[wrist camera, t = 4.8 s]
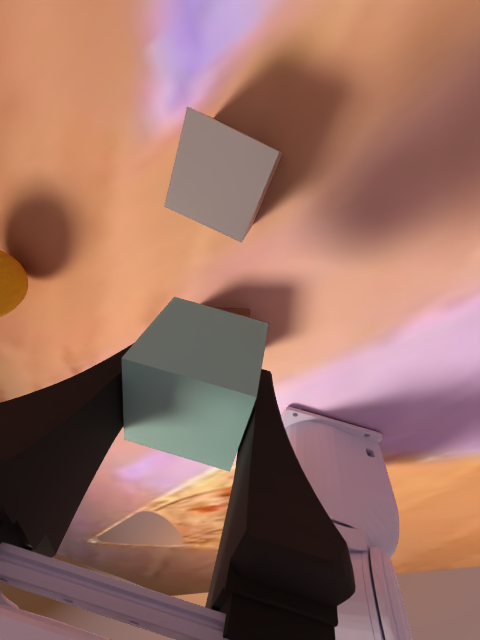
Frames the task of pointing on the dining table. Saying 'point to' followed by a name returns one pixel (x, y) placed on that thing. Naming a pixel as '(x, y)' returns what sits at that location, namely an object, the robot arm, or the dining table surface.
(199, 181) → the grey block
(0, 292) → the lemon
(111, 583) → the robot arm
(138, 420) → the teal block
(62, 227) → the dining table surface
